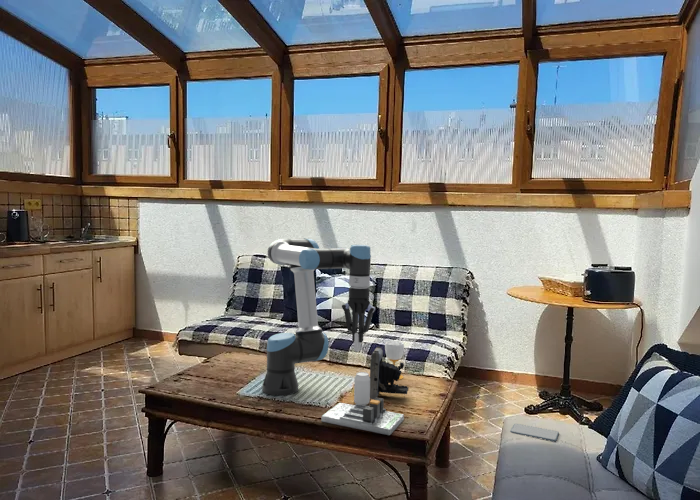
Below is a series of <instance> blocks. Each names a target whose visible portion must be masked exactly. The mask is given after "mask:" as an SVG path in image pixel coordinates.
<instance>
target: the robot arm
mask: <svg viewBox="0 0 700 500" xmlns="http://www.w3.org/2000/svg"><path fill="white" fill-rule="evenodd" d="M267 256H268V259H269V260H270V262H272V263H273V264H275V265H278V266H279V265H281V266H289V268H290V271H291V272H292V273H293V275H294V289H295V299H296V301H295V302H296V310H297V324H298V328H297V329H296V330H295V334H294V333H293V332H279V333H276V334H273V335H271V336H270V337H269V338H268V339H267V343H266V373H265V376H264V379H263V382H262V385H261V386H262V392H263V393H264V394H267V395H271V396H288V395H292V394H295V393H297V392H298V391H299V381H298V378H297V375H296V372H295V371H296V370H295V369H296V367H295V366H296V365H297V364H302V363H309V362H317V361H321V360H323V359H325V357H326V356H327V354H328V352H329V342H330V341H329V338H328V335H327V334H326V333H324V332H323V329H322V327H320V325H319V321H318V310H317V299H316V298H317V297H316V286H315V276H314V275H315V274H314V271H315V270H329V269H330V270H331V269H348V270H349V273H348V275H349V279H348V281H349V282H348V285H349V287H348V300H347V302H346V303H345V304H342V305H341V308H342V310H343V312H344V317H345V322H346V328H347V331H349V332H351V335H352V336H351V337H352V339H351V341H352V342H353V343H354V345H353V347H354V348H353V351H354V352H360V351H361V349H362V348H361V347H362V343H363V342H364V334H366V333H368V332H369V330H370V327H371V323H372V320H373V319H372V318H373V315H374V313H375V311H376V309H377V307H376V306H373V305H372V304H371V301H370V288H369V287H370V285H371V282H370V281H371V278H370V277H371V259H372V254H371V246H369V245H368V244H351V245H350V247H349V248H347V247H337V248H320V246H319V244H318V242H316V240H314V239H312V238H306V237H304V238H302V237H301V238H279V239H276V240H274V241H273V242H271V243H270V244H269V246H268V249H267ZM367 310H368V312H367V315H366V311H367ZM365 315H366V319H365ZM295 364H296V365H295Z"/></svg>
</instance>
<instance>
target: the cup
mask: <svg viewBox="0 0 700 500" xmlns="http://www.w3.org/2000/svg"><path fill="white" fill-rule="evenodd" d="M384 350H385V355H386V358H387V359H388V360H389V361H390V362H392V363H393V365H395V366H396V363H397V362H399V361H400V360H401V359H402V357H403V355H404V351H405V343H404V342H402V341H399V340H387V341H386V342H385V343H384ZM402 379H404V376H403V375H402V374H401V375H400V378H399V379H398V381H400V380H402Z"/></svg>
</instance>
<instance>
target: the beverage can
mask: <svg viewBox="0 0 700 500" xmlns="http://www.w3.org/2000/svg"><path fill="white" fill-rule="evenodd" d="M355 374H356V375H355V377H354V383H353V384H354V388H353V389H354V390H353V391H354V392H353V393H354V394H353V402H354V403H355V404H360V405H366V406H368V404H370V401H371V400H370V399H371V398H370V373H368V372H366V371H358V372H356V373H355Z"/></svg>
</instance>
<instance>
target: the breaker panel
mask: <svg viewBox="0 0 700 500" xmlns="http://www.w3.org/2000/svg"><path fill="white" fill-rule="evenodd" d="M374 400H378V401H380V416H379V417H378V418H376V417H374V408H373V407H370V405H360V404H356V403H355V404H349V403H344V402H339V403H337V404H336V405H334V406H333V407H332V408H330V409H329V410H328V411H326V413H323V414H322V415H321V422H323V423H326V424H333V425H337V426H341V427H347V428H352V429H357V430H362V431H368V432H372V433H376V434H382V435H387V436H391V435H392V433H393V432H394V431H395V430H397V428H398V427H399V426H400V424H402V423H403V421H405V417H404V416H405V414H404V413H398V412H394V411H392V412H391V411H387V409H386V408H384V405H385V403H384V402H385V401H384V400H385V399H384V398H382V397H378V396H377V397H376V398H375V399H374Z"/></svg>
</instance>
